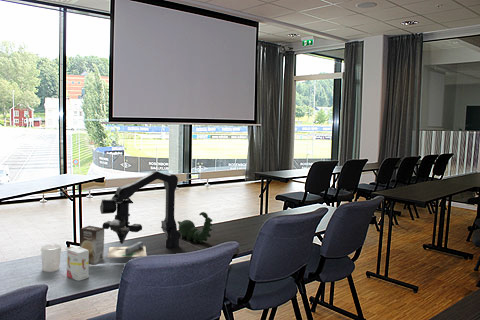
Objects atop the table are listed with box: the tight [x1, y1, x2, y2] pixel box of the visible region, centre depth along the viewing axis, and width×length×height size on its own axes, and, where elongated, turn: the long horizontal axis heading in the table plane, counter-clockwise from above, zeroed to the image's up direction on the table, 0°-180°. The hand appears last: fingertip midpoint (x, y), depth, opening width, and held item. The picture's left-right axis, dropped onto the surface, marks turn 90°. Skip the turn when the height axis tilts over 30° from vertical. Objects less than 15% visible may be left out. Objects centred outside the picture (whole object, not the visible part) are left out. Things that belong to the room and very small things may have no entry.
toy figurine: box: [177, 211, 213, 244], centre depth 232 cm, size 9×19×25 cm
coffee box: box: [79, 225, 105, 266], centre depth 189 cm, size 9×6×16 cm
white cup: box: [40, 243, 62, 273], centre depth 177 cm, size 8×8×10 cm
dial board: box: [107, 245, 147, 259], centre depth 204 cm, size 18×17×1 cm
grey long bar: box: [125, 241, 144, 255], centre depth 204 cm, size 14×4×3 cm, turn 165°
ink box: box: [66, 246, 90, 281], centre depth 170 cm, size 9×5×12 cm, turn 55°
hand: (121, 243), depth 201 cm, fingers closed
